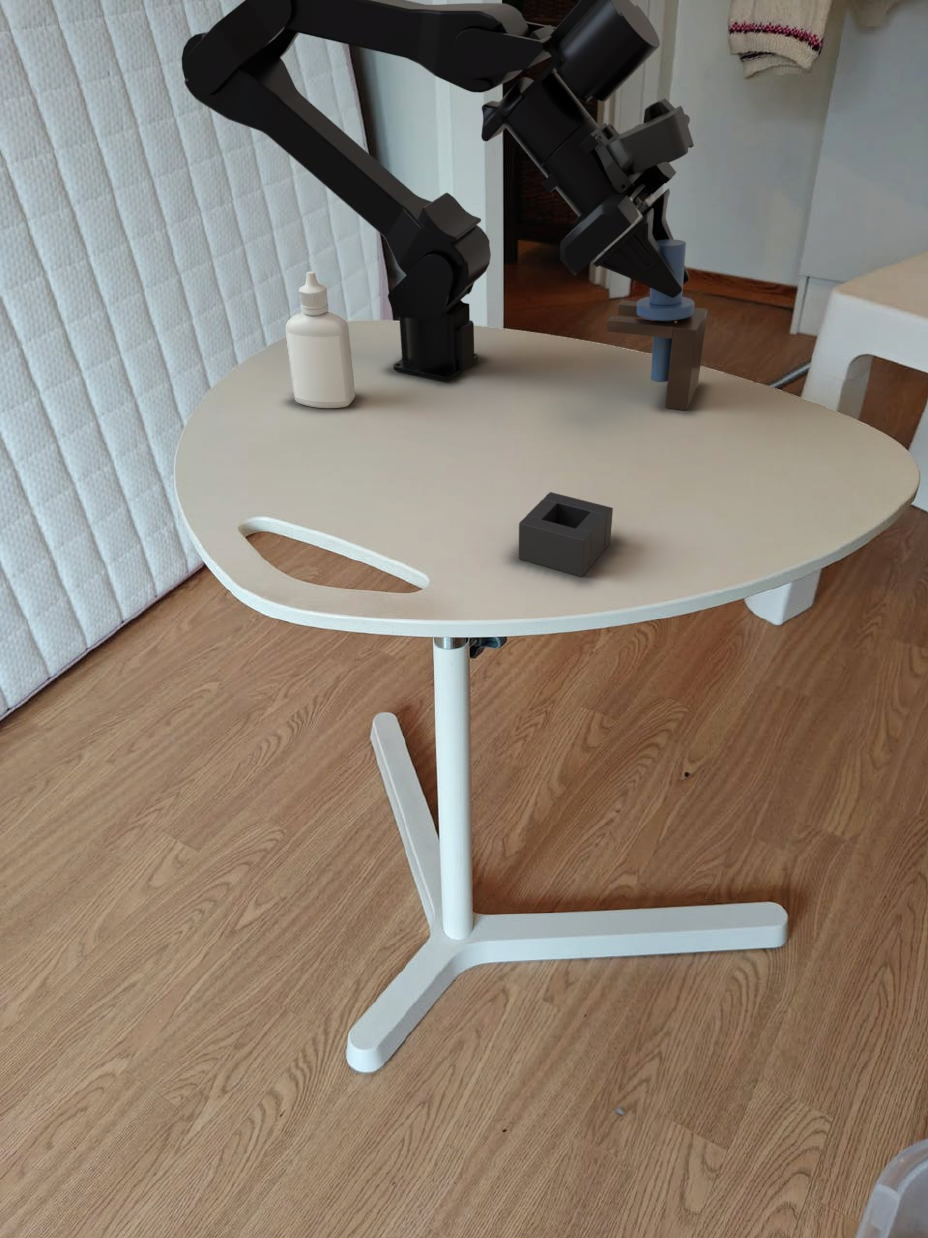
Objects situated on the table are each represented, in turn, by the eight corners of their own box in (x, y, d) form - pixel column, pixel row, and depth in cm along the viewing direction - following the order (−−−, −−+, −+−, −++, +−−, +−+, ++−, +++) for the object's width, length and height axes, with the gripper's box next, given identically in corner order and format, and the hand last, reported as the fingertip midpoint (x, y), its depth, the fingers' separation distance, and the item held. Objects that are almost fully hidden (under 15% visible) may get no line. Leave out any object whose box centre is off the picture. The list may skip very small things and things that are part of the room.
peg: (650, 391, 88) (658, 250, 81) (623, 375, 92) (629, 240, 85) (698, 382, 89) (710, 244, 83) (670, 367, 93) (679, 234, 87)
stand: (601, 399, 91) (606, 320, 87) (616, 376, 95) (621, 299, 91) (686, 410, 89) (696, 329, 84) (697, 386, 93) (707, 308, 88)
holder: (518, 558, 70) (518, 522, 68) (548, 526, 73) (549, 491, 72) (582, 577, 68) (584, 540, 66) (610, 543, 71) (613, 507, 70)
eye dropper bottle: (327, 417, 90) (312, 285, 82) (288, 400, 93) (270, 272, 85) (362, 401, 92) (350, 272, 85) (323, 385, 95) (308, 260, 88)
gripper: (609, 87, 70) (742, 259, 73) (662, 52, 84) (773, 197, 87) (504, 196, 77) (630, 348, 81) (570, 146, 91) (675, 278, 94)
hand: (681, 288), depth 85 cm, fingers closed on peg, 3 cm apart
